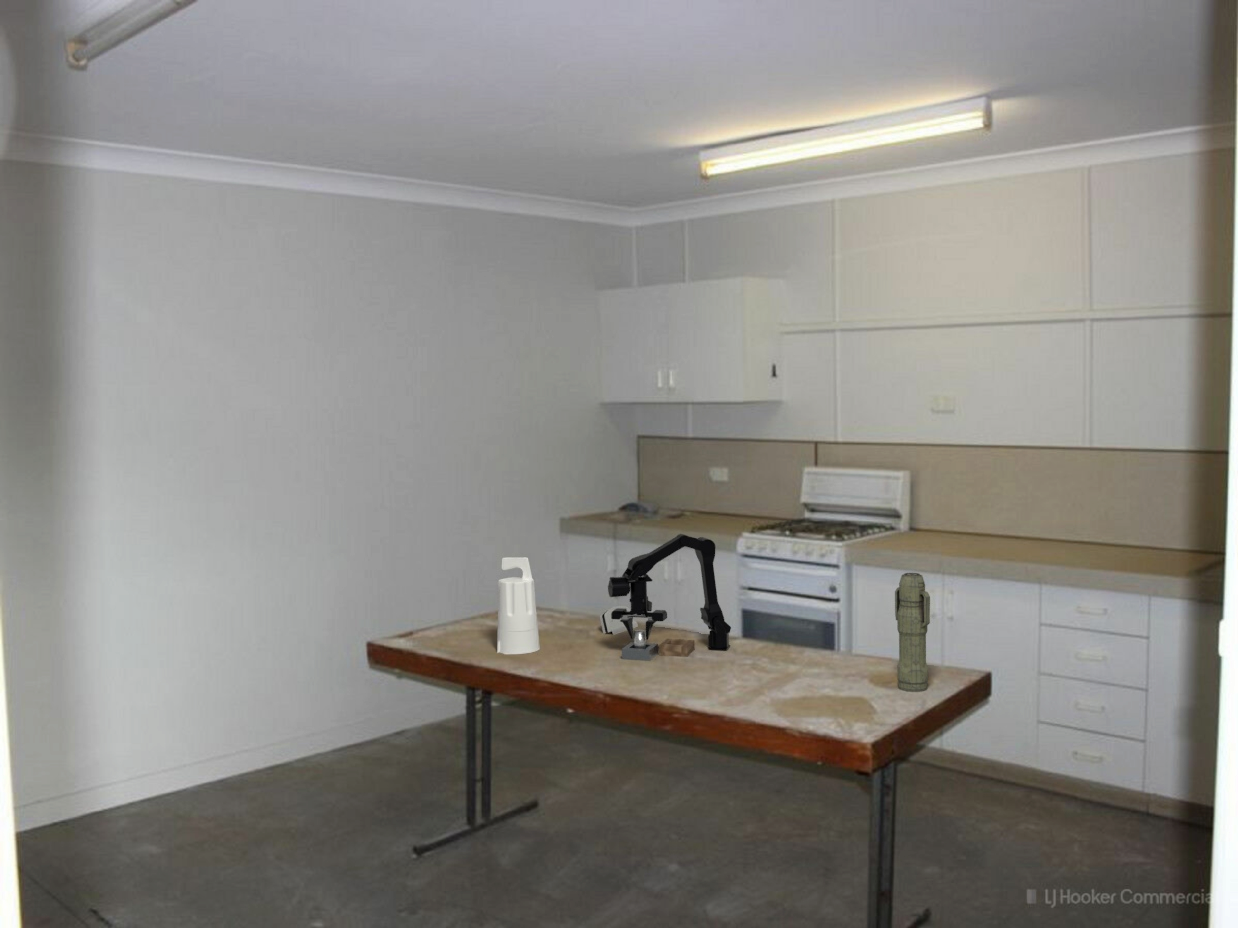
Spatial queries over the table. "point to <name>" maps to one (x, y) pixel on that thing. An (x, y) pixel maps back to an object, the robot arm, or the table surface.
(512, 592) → the white hook-topped canister
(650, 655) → the block
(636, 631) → the metal cylinder peg
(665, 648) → the socket block
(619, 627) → the hinge
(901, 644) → the thermos
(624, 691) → the table surface
